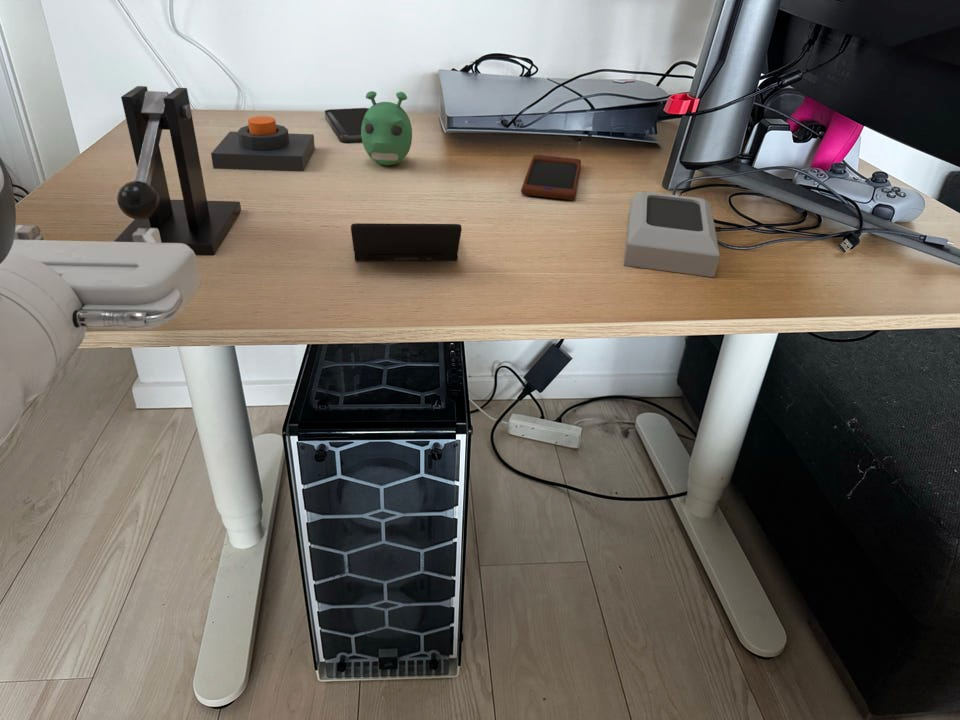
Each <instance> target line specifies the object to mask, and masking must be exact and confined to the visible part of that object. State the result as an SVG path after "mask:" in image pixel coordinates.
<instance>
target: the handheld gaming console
mask: <svg viewBox="0 0 960 720" xmlns="http://www.w3.org/2000/svg"><path fill="white" fill-rule="evenodd" d="M462 229H463V227H462V225H461V224H459V223H370V222H369V223H361V222H360V223H357V222H356V223H352V224H351V225H350V233H351V241H352V247H353V248H352V249H353V252H354V260H355V261H356V262H358V261H360V262H361V261H362V262H363V261H365V262H366V261H367V262H369V261H373V262H374V261H376V262H377V261H378V262H379V261H381V262H383V261H384V262H385V261H387V262H388V261H390V262H391V261H397V260H399V261H400V260H401V261H402V260H403V261H404V260H406V261H407V260H408V261H409V260H413V261H414V260H415V261H420V262H421V261H429V262H430V261H431V262H432V261H437V262H439V261H440V262H441V261H442V262H443V261H445V262H446V261H458V259H459V255H458V254H459V248H460V241H461V236H462V231H463V230H462Z"/></svg>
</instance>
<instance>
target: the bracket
mask: <svg viewBox="0 0 960 720" xmlns="http://www.w3.org/2000/svg"><path fill="white" fill-rule="evenodd" d="M146 91H149V90H148V86H146V85H137V86H135V87H134V88H132V89H131V90H129V91H127V92H126V93H125V94H123V95H122V96H120V98H121V102H122V107H123V112H124V115H125V121H126V125H127V129H128V134H129V138H130V142H131V147H132V150H133V155H134V159H135V163H136V169H137V168H138V163H139V159H140V155H141V150H142V146H143V141H144V137H145V133H146V128H147V123H146V121H145V120H144V118H143V116H142V114H141V109H142V105H143V101H144V97H145V92H146ZM164 104H165V109H166V114H167V120H168V125H169V130H168V131H169V134H170V139H171V145H172V149H173V154H174V159H175V160H174V161H175V163H176V170H177V176H178V180H179V186H180V190H181V191H180V192H181V195H182V199H171V197H170V191H169V187H168V182H167V176H166V172H165V167H164V163H163V158H162V153H161V148H160V146H159V147H158V152H157V156H156V161H155V165H154V170H153V175H152V179H151V184H150V186H151V187H153V188H154V190H155V191H156V192H157V194H158V197H159V207H158V210H157V212H156V213H155V214H154V215H153V216H152V217H150V218H148V219H144V220H136V219H132V221H131V222H130V224H129V225H127V227H125V229H124V230H123V231H122V232H121V234H120V233H119V235H118V237H116V238H115V240H114V241H113V242H134V241H133V237H132V234H133V233H134V232H135V231H137V229H138V228H157V229H158V230H159V233H160V238H161V243H183V244H186V245H188V246H189V247H190V248H191V249H192V250H193V251H194V253H195V255H205V256H206V255H210V256H213V255H215V254H216V252H217V250H218V249H219V247H220V246H221V244H222V243H223V241H224V239H225V237H226V236H227V234H228V232H230V230H231V228H232V227H233V225H234V223H235V221H236V220H237V218H238V217H239V215H240V213H241V212H242V206H241V201H236V200H235V201H233V200H231V201H230V200H208V198H207V193H206V188H205V187H206V186H205V182H204V176H203V171H202V164H201V159H200V153H199V148H198V142H197V136H196V132H195V126H194V120H193V114H192V109H191V104H190V97H189V92H188V87H176V88H175V89H174V90H173V91H171V92H170V93H169V95H167V96H166V97H165V98H164Z"/></svg>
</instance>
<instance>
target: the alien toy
mask: <svg viewBox="0 0 960 720" xmlns="http://www.w3.org/2000/svg"><path fill="white" fill-rule="evenodd" d="M376 96H377V92H376V91H373V90H370V91H368V92H367V93H366V95H365V98H366V99H367V100H370V101H371V103H372V105H371V106H370V107H369V109H368V111H367V112H366V114H365V116H364V119H363V122H362V127H361V137H362V142H361V143H362V146H363V148H364V151H365V152H366V154H367V155H368V157H369V158H370V159H371V160H372V161H374V162H375V163H377V164H379V165H382V166H387V167H388V166H389V167H390V166H395V165H397V164H400V163H401V162H402V161H403V160H404V159H405V158H406V157H407V155H408V154H409V152H410V149H411V147H412V141H413V127H412V123H411V120H410V117H409V115H408V114H407V111H405V109H404V108H403V107H402V106H401V105H402V102H403V101H407V100H408V96H407V94H406V93H405V92H404V91H398V92H396V93H395V96H396V97H397V99H398V100H397V102H396V103H395V102H391V101H380V102H376V100H375V98H376Z"/></svg>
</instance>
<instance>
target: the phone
mask: <svg viewBox="0 0 960 720" xmlns="http://www.w3.org/2000/svg"><path fill="white" fill-rule="evenodd" d="M369 108H370V107H369ZM369 108H368V107H354V108H353V107H351V108H332V109H325V110H324V119H325V121H326V122H327V124H328V125H329V127H330V128H331V130H332V131H333V133H334V135H335V136H336V137H337V139H338V141H339V142H340V143H342V144H357V143H363V142H362V137H361V127H362V122H363V119H364V116H365V114H366V112H367V111H368V109H369Z"/></svg>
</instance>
